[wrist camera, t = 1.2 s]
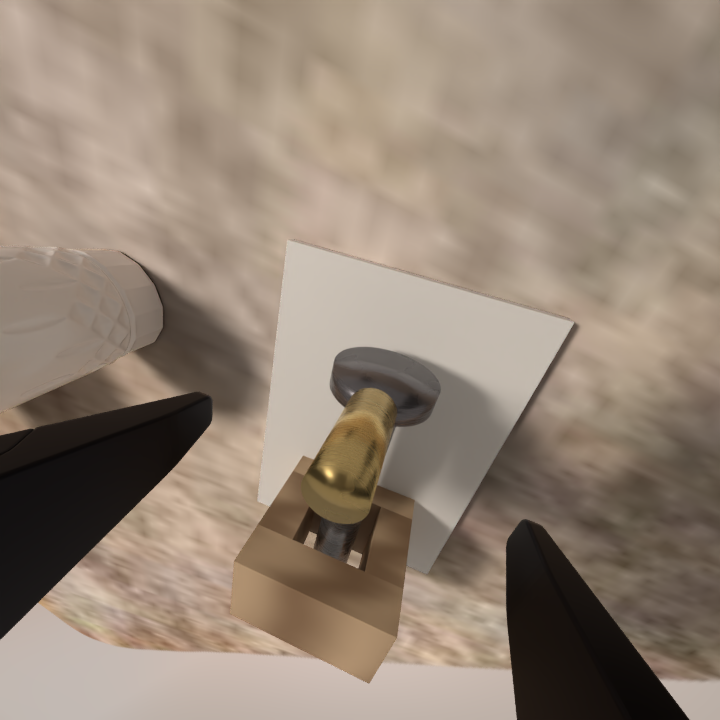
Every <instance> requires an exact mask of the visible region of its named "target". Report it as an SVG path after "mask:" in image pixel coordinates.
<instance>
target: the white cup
mask: <svg viewBox="0 0 720 720" xmlns="http://www.w3.org/2000/svg"><path fill="white" fill-rule="evenodd" d="M162 328H163V306H162V303H161V301H160V298H159V295H158V293H157V290H156V287H155V285H154V283H153V282H152V281H151V280H150V278H149V277H148V276H147V274H146V273H145V272H144V270H143V269H142V268H141V267H140V265H139V264H137V263H136V262H134V261H133V260H131V259H130V258H128V257H127V256H125V255H124V254H122V253H121V252H119V251H114V250H106V249H64V248H61V247H31V246H0V413H2V412H5V411H7V410H9V409H11V408H14V407H16V406H18V405H20V404H23V403H25V402H27V401H29V400H32V399H34V398H36V397H39V396H41V395H43V394H45V393H47V392H50V391H52V390H54V389H56V388H59V387H61V386H63V385H65V384H68V383H70V382H72V381H74V380H77V379H79V378H81V377H83V376H86V375H88V374H90V373H92V372H94V371H96V370H98V369H100V368H102V367H104V366H106V365H108V364H111V363H113V362H115V361H116V360H117V359H118V358H120V357H122V356H124V355H126V354H128V353H130V352H133V351H135V350H137V349H140V348H142V347H144V346H147V345H149V344H151V343H154V342H155V341H156V339H157V337H158V336H159V334H160V332H161V330H162Z"/></svg>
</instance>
